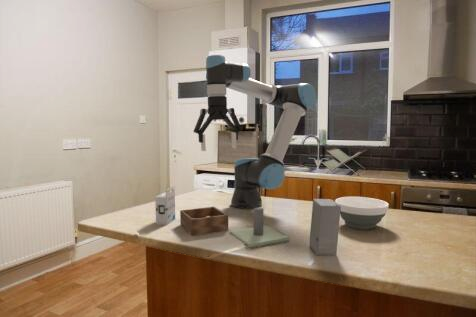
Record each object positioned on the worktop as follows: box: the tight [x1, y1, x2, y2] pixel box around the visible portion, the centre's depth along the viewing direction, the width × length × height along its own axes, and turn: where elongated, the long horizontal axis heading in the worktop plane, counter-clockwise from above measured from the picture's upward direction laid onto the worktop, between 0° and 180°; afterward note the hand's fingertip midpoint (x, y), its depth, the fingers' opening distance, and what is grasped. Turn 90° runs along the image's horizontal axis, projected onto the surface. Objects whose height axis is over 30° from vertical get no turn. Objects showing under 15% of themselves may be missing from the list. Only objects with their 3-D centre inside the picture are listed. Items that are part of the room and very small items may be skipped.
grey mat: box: [244, 240, 289, 249], centre depth 116 cm, size 15×15×1 cm
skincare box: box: [308, 198, 341, 256], centre depth 104 cm, size 8×7×16 cm
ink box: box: [154, 185, 176, 226], centre depth 133 cm, size 9×5×15 cm, turn 168°
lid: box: [229, 207, 290, 248], centre depth 116 cm, size 15×15×10 cm
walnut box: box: [179, 206, 229, 237], centre depth 125 cm, size 14×14×6 cm
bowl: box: [334, 196, 389, 231], centre depth 130 cm, size 20×20×10 cm
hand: (219, 149), depth 135 cm, fingers open, 13 cm apart
